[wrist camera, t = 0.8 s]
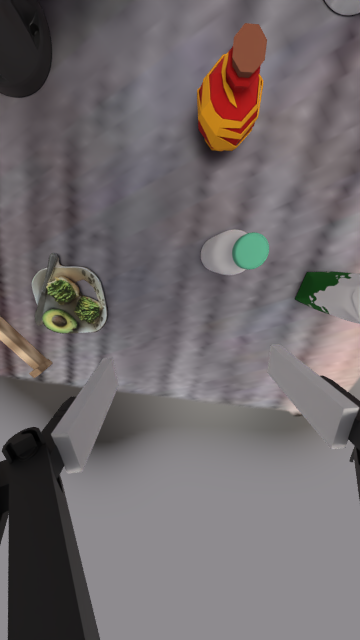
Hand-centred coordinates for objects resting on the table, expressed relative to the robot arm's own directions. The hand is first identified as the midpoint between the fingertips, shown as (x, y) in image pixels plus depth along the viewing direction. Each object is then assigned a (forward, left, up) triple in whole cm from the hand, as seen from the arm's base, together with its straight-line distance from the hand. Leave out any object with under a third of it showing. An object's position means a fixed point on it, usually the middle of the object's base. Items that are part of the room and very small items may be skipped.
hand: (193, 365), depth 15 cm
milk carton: (+18, +30, -32) cm, 47 cm away
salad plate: (-13, -23, -32) cm, 42 cm away
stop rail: (-13, -41, -31) cm, 54 cm away
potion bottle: (-22, +24, -32) cm, 45 cm away
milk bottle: (-3, +13, -32) cm, 34 cm away
